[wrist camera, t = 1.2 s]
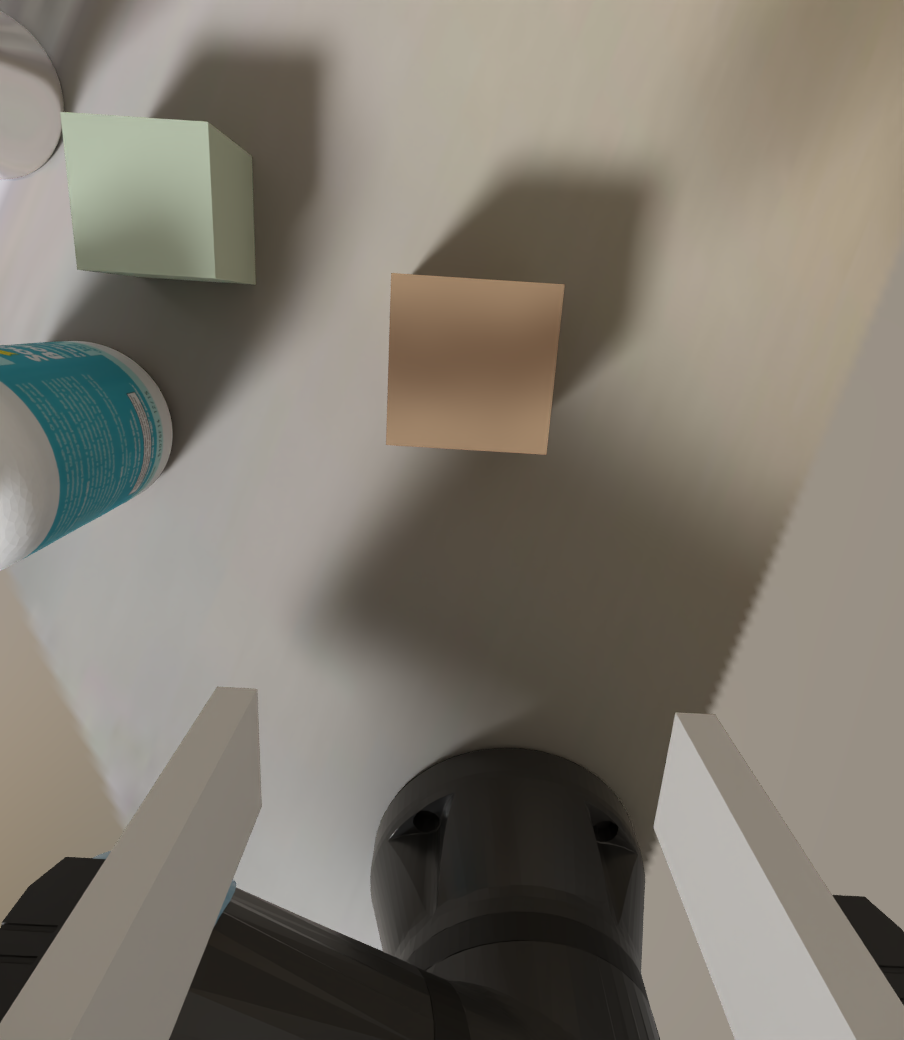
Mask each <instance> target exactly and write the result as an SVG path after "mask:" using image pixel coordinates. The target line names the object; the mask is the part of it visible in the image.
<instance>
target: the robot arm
mask: <svg viewBox="0 0 904 1040" xmlns="http://www.w3.org/2000/svg"><path fill="white" fill-rule="evenodd" d="M261 807H262V802H261V775H260V748H259V721H258V694H257V689H249V688H231V687H217V688H216V689H215V691H214V693H213V694H212V696H211V697H210V699H209V700H208V702H207V703H206V705H205V706H204V708H203V710H202V711H201V713H200V714H199V716H198V717H197V719H196V720H195V722H194V724H193V725H192V727H191V728H190V730H189V731H188V733H187V734H186V736H185V737H184V739H183V741H182V742H181V744H180V745H179V747H178V748H177V750H176V751H175V753H174V755H173V756H172V758H171V759H170V761H169V762H168V764H167V765H166V767H165V768H164V770H163V772H162V773H161V775H160V776H159V778H158V779H157V781H156V782H155V784H154V786H153V787H152V789H151V790H150V792H149V793H148V795H147V796H146V798H145V799H144V801H143V803H142V804H141V806H140V807H139V809H138V810H137V812H136V813H135V815H134V817H133V818H132V820H131V821H130V823H129V824H128V826H127V827H126V829H125V830H124V832H123V834H122V835H121V837H120V838H119V840H118V841H117V843H116V845H115V846H114V848H113V849H112V851H109V852H106V853H103V854H100V855H98V856H96V857H94V858H75V857H65V858H64V859H63V860H61V861H60V862H59V863H58V864H56V865H55V866H54V867H53V868H52V869H50V870H49V871H48V872H46V873H45V874H44V875H43V876H41V877H40V878H39V879H38V880H36V881H35V882H34V883H33V884H31V885H30V886H29V887H28V888H27V890H26V891H25V892H24V894H23V895H22V896H21V898H20V899H19V900H18V902H17V903H16V904H15V906H14V907H13V908H12V910H11V911H10V912H9V914H8V915H7V916H6V918H5V919H4V920H3V922H2V926H1V928H0V1040H660V1037H659V1034H658V1031H657V1028H656V1024H655V1021H654V1017H653V1014H652V1011H651V1008H650V1005H649V1001H648V998H647V994H646V990H645V987H644V983H643V979H642V975H641V959H642V936H643V912H644V890H645V874H644V867H643V860H642V856H641V852H640V849H639V846H638V843H637V840H636V837H635V834H634V831H633V828H632V825H631V822H630V819H629V817H628V815H627V813H626V811H625V809H624V807H623V805H622V804H621V802H620V801H619V799H618V798H617V797H616V795H615V794H614V793H613V792H612V791H611V790H610V789H609V788H608V787H607V786H606V785H605V784H604V783H603V782H602V781H601V780H600V779H599V778H597V777H596V776H595V775H593V774H592V773H590V772H589V771H587V770H586V769H584V768H582V767H581V766H579V765H577V764H575V763H573V762H570V761H568V760H566V759H563V758H561V757H558V756H555V755H551V754H548V753H544V752H539V751H534V750H527V749H515V748H500V749H488V750H481V751H475V752H471V753H466V754H463V755H459V756H456V757H453V758H451V759H448V760H445V761H443V762H441V763H439V764H437V765H435V766H433V767H431V768H429V769H428V770H426V771H424V772H423V773H421V774H420V775H418V776H417V777H416V778H414V779H413V780H412V781H411V782H410V783H408V784H407V785H406V786H405V787H404V788H403V789H402V790H401V791H400V792H399V793H398V795H397V796H396V797H395V798H394V799H393V801H392V802H391V804H390V805H389V807H388V808H387V810H386V812H385V813H384V816H383V818H382V820H381V822H380V825H379V828H378V831H377V835H376V840H375V846H374V853H373V859H372V866H371V876H370V883H371V898H372V903H373V908H374V912H375V917H376V921H377V926H378V930H379V935H380V939H381V944H382V948H383V951H380V950H378V949H376V948H373V947H371V946H369V945H366V944H364V943H362V942H359V941H357V940H355V939H352V938H350V937H348V936H345V935H343V934H341V933H338V932H336V931H334V930H331V929H329V928H327V927H324V926H322V925H320V924H317V923H315V922H313V921H311V920H308V919H306V918H304V917H302V916H299V915H297V914H295V913H293V912H290V911H288V910H286V909H284V908H281V907H279V906H277V905H274V904H272V903H270V902H268V901H265V900H263V899H261V898H259V897H256V896H254V895H252V894H250V893H247V892H245V891H243V890H241V889H238V888H236V882H235V881H234V880H233V877H234V875H235V872H236V870H237V867H238V865H239V862H240V860H241V857H242V855H243V852H244V849H245V847H246V844H247V842H248V839H249V837H250V834H251V832H252V829H253V827H254V824H255V822H256V819H257V817H258V814H259V812H260V809H261ZM653 828H654V830H655V833H656V835H657V838H658V841H659V843H660V846H661V848H662V851H663V853H664V856H665V859H666V861H667V864H668V866H669V869H670V871H671V874H672V877H673V879H674V882H675V885H676V887H677V890H678V892H679V895H680V898H681V900H682V902H683V905H684V908H685V911H686V913H687V916H688V918H689V921H690V924H691V926H692V928H693V931H694V934H695V937H696V939H697V942H698V944H699V947H700V950H701V952H702V955H703V957H704V960H705V963H706V965H707V968H708V970H709V973H710V976H711V978H712V981H713V983H714V986H715V988H716V991H717V994H718V996H719V999H720V1002H721V1004H722V1007H723V1009H724V1012H725V1014H726V1017H727V1020H728V1022H729V1025H730V1028H731V1030H732V1033H733V1035H734V1038H735V1040H904V932H903V930H902V929H901V928H900V927H898V926H897V925H896V924H895V923H894V922H893V921H892V920H891V919H889V918H888V917H887V916H886V915H885V914H884V913H883V912H881V911H880V910H879V909H878V908H877V907H876V906H875V905H873V904H872V903H871V902H870V901H869V900H868V899H867V898H866V897H859V896H841V895H832V894H831V893H830V891H829V890H828V888H827V887H826V885H825V884H824V882H823V880H822V879H821V877H820V876H819V874H818V873H817V871H816V870H815V868H814V867H813V865H812V864H811V862H810V860H809V859H808V857H807V856H806V854H805V853H804V851H803V850H802V848H801V846H800V845H799V844H798V842H797V840H796V839H795V837H794V836H793V834H792V833H791V831H790V830H789V828H788V826H787V825H786V824H785V822H784V820H783V819H782V817H781V816H780V814H779V813H778V811H777V809H776V808H775V806H774V805H773V803H772V802H771V800H770V799H769V797H768V796H767V794H766V792H765V791H764V789H763V788H762V786H761V785H760V783H759V782H758V780H757V779H756V777H755V776H754V774H753V772H752V771H751V769H750V768H749V766H748V765H747V763H746V762H745V760H744V759H743V757H742V756H741V754H740V752H739V751H738V750H737V748H736V746H735V745H734V743H733V742H732V740H731V739H730V737H729V736H728V734H727V732H726V731H725V729H724V728H723V726H722V725H721V723H720V722H719V720H718V719H717V717H716V716H715V714H697V713H679V712H676V713H675V718H674V723H673V728H672V733H671V738H670V744H669V749H668V754H667V759H666V764H665V770H664V775H663V780H662V785H661V790H660V796H659V801H658V806H657V811H656V816H655V822H654V827H653Z"/></svg>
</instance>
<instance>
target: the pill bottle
mask: <svg viewBox="0 0 904 1040" xmlns="http://www.w3.org/2000/svg"><path fill="white" fill-rule="evenodd" d="M172 439H173V430H172V421H171V416H170V412H169V409H168V406H167V403H166V401H165V399H164V397H163V395H162V393H161V391H160V389H159V388H158V386H157V385H156V383H155V382H154V381H153V379H152V378H151V377H150V376H149V375H148V374H147V373H146V371H145V370H144V369H143V368H141V367H140V366H139V365H138V364H137V363H136V362H134V361H133V360H131V359H130V358H129V357H127V356H125V355H124V354H122V353H120V352H118V351H116V350H114V349H111V348H109V347H106V346H103V345H100V344H96V343H91V342H85V341H59V342H45V343H29V344H16V345H2V346H0V571H1V570H3V569H5V568H7V567H9V566H11V565H13V564H14V563H16V562H18V561H20V560H22V559H24V558H26V557H27V556H29V555H31V554H33V553H35V552H36V551H38V550H40V549H42V548H44V547H45V546H47V545H49V544H51V543H53V542H54V541H56V540H58V539H60V538H61V537H63V536H65V535H67V534H69V533H70V532H72V531H74V530H76V529H78V528H79V527H81V526H83V525H85V524H87V523H89V522H91V521H92V520H94V519H96V518H98V517H100V516H102V515H103V514H105V513H107V512H109V511H110V510H112V509H114V508H116V507H117V506H119V505H121V504H123V503H125V502H127V501H128V500H130V499H132V498H133V497H135V496H137V495H138V494H140V493H141V492H143V491H145V490H146V489H147V488H148V487H150V486H151V485H152V484H153V483H154V482H155V481H156V480H157V478H158V477H159V476H160V474H161V473H162V471H163V470H164V468H165V466H166V464H167V461H168V459H169V456H170V452H171V447H172Z"/></svg>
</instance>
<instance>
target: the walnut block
mask: <svg viewBox="0 0 904 1040" xmlns="http://www.w3.org/2000/svg"><path fill="white" fill-rule="evenodd" d="M564 286H565V284H551V283H535V282H520V281H504V280H489V279H474V278H458V277H443V276H427V275H412V274H397V273H391V301H390V334H389V367H388V400H387V433H386V445H396V446H413V447H429V448H445V449H461V450H478V451H494V452H510V453H526V454H542V455H546V453H547V444H548V435H549V426H550V416H551V407H552V398H553V388H554V379H555V370H556V360H557V351H558V342H559V333H560V323H561V314H562V305H563V295H564Z"/></svg>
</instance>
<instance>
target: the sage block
mask: <svg viewBox="0 0 904 1040" xmlns="http://www.w3.org/2000/svg"><path fill="white" fill-rule="evenodd" d="M60 115H61V124H62V134H63V143H64V152H65V161H66V170H67V179H68V189H69V198H70V207H71V216H72V225H73V234H74V244H75V253H76V262H77V270H85V271H93V272H102V273H110V274H118V275H126V276H134V277H144V278H160V279H175V280H191V281H206V282H222V283H238V284H253V285H256V272H255V239H254V206H253V173H252V156H251V155H250V154H249V153H247V152H246V151H245V150H243V149H242V148H241V147H240V146H238V145H237V144H236V143H234V142H233V141H232V140H231V139H229V138H228V137H227V136H226V135H224V134H223V133H222V132H220V131H219V130H218V129H217V128H215V127H214V126H213V125H211V124H210V123H209V122H204V121H189V120H174V119H159V118H144V117H129V116H114V115H99V114H84V113H69V112H60Z"/></svg>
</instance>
